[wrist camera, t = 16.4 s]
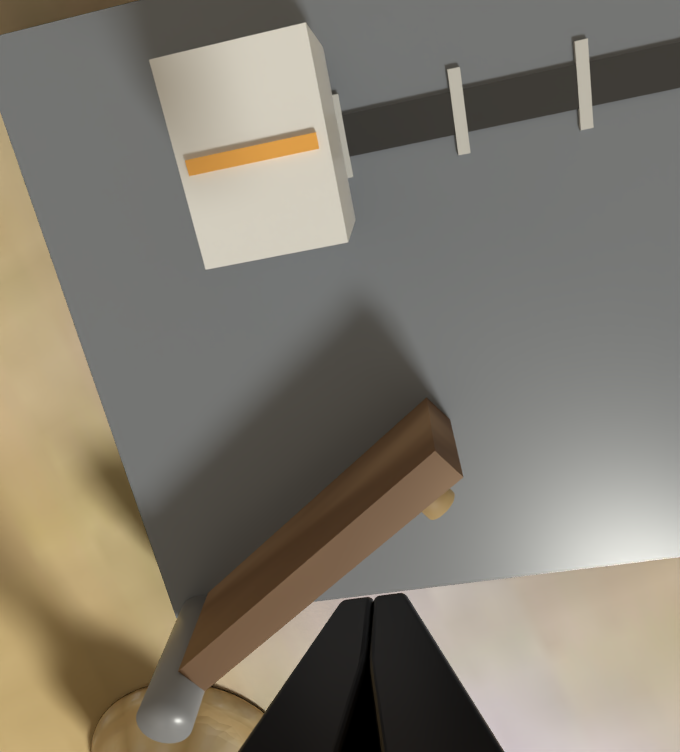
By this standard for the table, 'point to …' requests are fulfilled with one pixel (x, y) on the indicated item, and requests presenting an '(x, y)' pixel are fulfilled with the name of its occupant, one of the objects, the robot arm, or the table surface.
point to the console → (381, 286)
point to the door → (326, 541)
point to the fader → (257, 145)
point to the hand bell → (209, 734)
